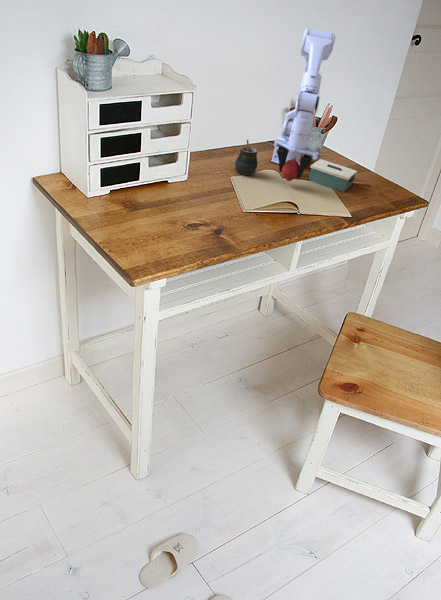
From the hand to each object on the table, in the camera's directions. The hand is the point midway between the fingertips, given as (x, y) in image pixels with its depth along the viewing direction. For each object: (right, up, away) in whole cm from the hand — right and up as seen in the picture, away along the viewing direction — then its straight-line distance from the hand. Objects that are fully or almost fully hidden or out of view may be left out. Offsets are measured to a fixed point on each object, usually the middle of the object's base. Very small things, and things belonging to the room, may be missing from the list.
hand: (289, 174), depth 179 cm
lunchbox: (+15, 0, +11) cm, 19 cm away
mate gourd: (-15, +2, +6) cm, 16 cm away
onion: (0, -2, +1) cm, 3 cm away
